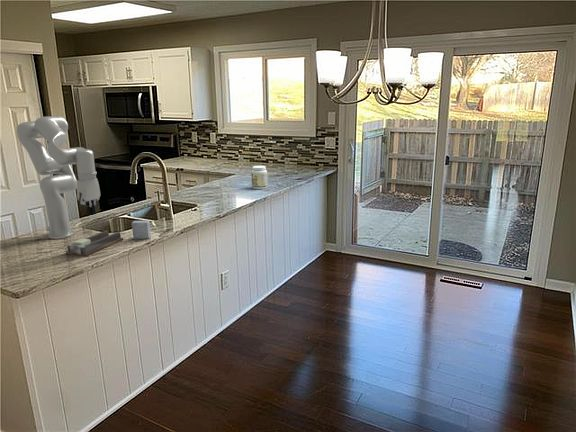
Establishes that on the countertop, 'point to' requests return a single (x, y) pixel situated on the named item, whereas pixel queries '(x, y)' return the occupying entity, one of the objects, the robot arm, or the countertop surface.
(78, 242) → the block
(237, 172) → the countertop surface
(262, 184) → the supplement tub
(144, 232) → the medicine box
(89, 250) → the chute
